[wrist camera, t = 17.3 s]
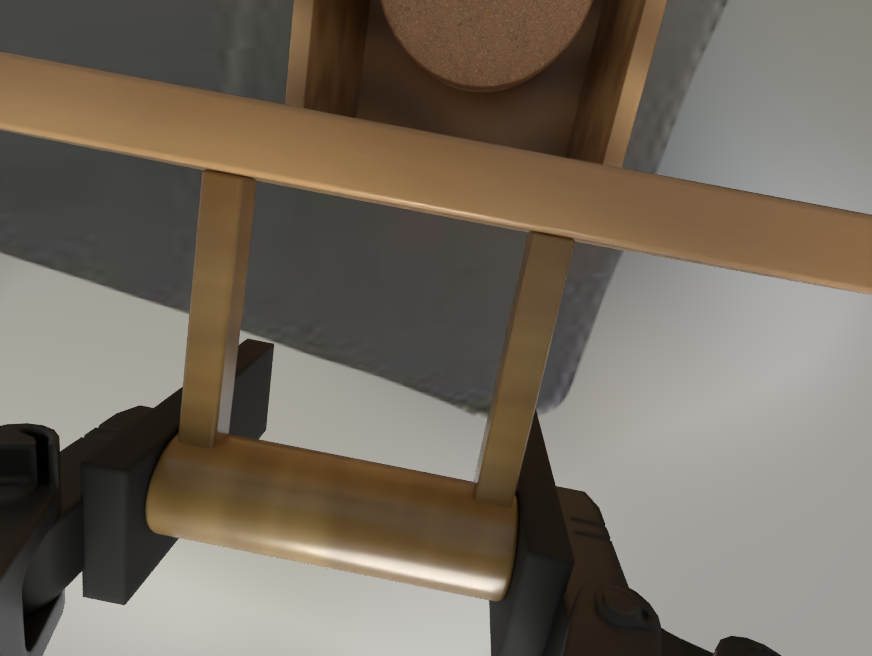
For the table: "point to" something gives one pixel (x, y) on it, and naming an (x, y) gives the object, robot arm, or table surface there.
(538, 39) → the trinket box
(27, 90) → the lid
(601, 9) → the chest
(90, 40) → the table surface
